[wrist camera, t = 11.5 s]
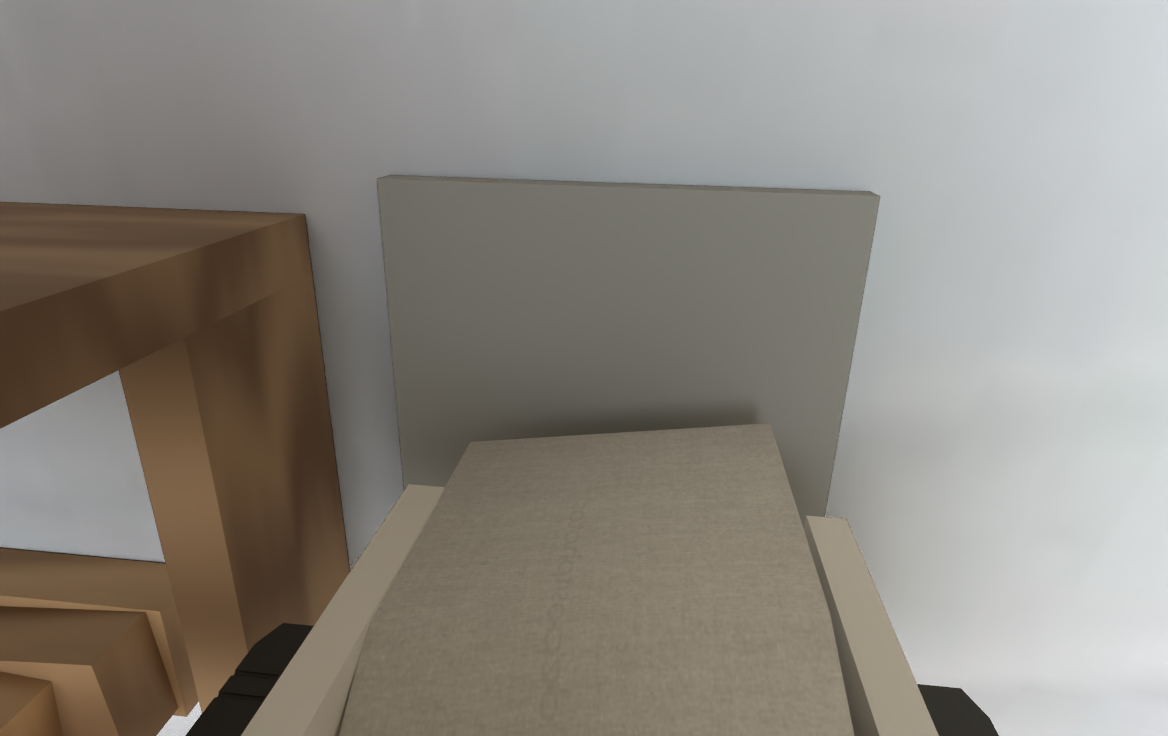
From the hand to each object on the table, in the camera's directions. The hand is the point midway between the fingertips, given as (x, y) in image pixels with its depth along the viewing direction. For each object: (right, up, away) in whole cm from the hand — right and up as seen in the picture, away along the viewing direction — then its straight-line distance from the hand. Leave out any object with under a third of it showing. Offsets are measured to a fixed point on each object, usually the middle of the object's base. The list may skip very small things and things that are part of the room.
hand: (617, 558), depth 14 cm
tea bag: (0, +1, +2) cm, 2 cm away
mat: (0, +1, +5) cm, 5 cm away
